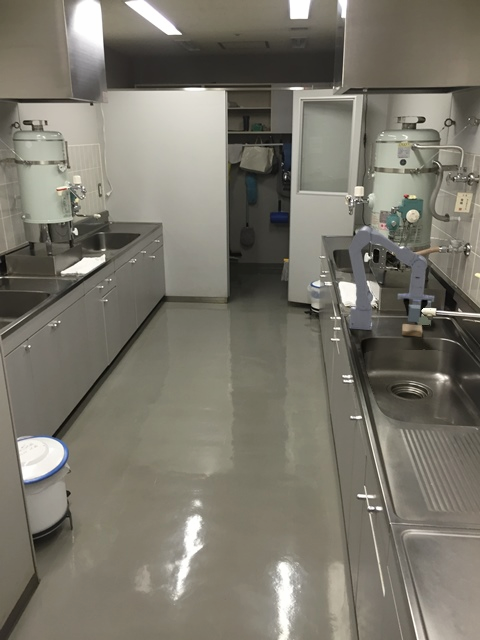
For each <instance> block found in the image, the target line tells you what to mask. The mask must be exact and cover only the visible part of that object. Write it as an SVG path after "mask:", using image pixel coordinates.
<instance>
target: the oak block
mask: <svg viewBox="0 0 480 640" xmlns="http://www.w3.org/2000/svg"><path fill="white" fill-rule="evenodd" d="M401 335H402V336H408V337H419V338H420V337H421V338H422V337H423V326H422V325H418V324H407V323H403V324H402V327H401Z"/></svg>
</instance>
